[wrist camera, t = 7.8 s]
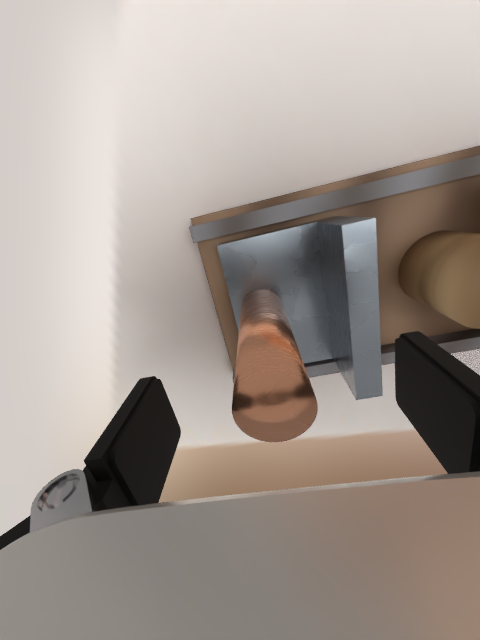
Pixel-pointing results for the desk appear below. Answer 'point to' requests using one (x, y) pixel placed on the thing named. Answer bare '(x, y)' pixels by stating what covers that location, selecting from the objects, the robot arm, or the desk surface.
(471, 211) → the press base
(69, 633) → the robot arm
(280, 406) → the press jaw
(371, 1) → the desk surface
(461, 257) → the tan round peg
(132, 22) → the desk surface
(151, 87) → the desk surface
